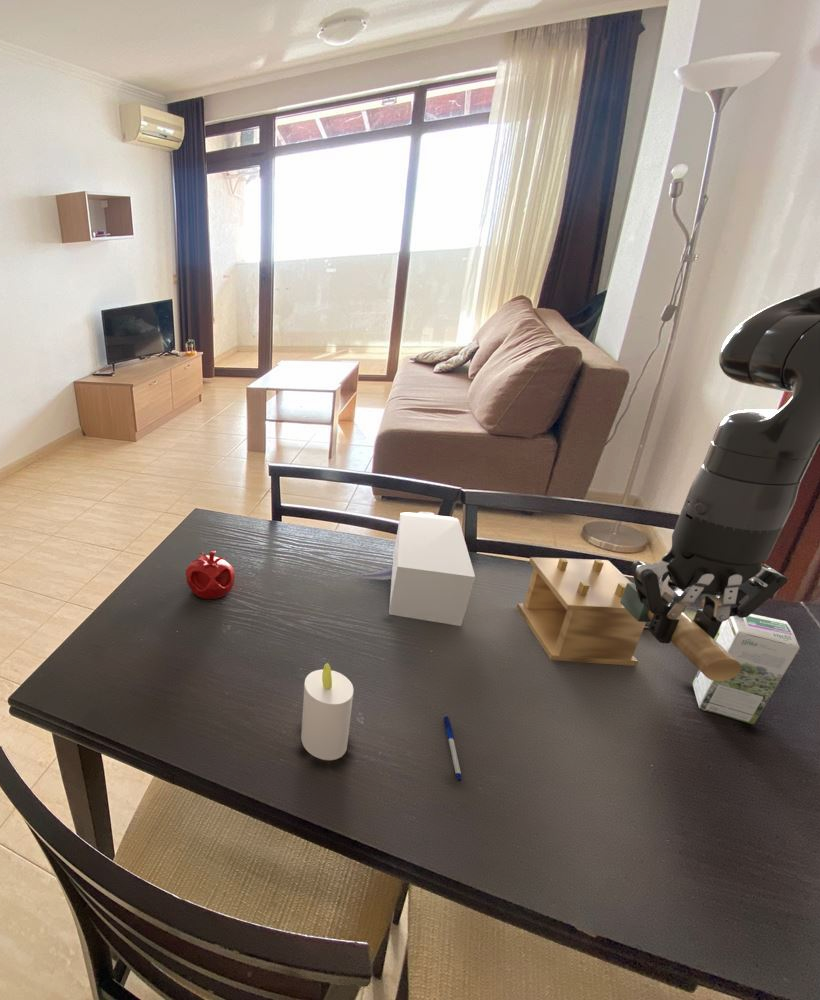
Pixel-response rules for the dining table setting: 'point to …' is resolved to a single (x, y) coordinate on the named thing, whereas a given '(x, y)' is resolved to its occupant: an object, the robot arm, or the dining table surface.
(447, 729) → the ballpoint pen
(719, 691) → the syrup box
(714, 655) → the brush
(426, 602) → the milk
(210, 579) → the pomegranate
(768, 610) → the dining table surface
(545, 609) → the shelf rack
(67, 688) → the dining table surface
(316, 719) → the candle
